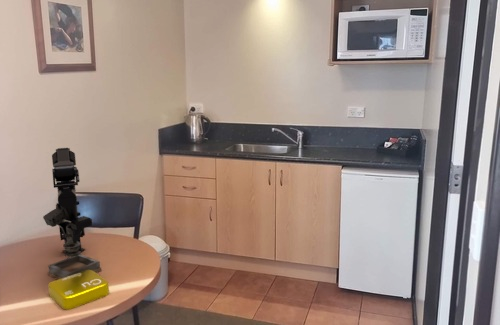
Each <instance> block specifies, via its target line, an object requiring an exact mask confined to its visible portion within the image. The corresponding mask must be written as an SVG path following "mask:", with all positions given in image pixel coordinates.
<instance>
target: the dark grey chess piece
mask: <svg viewBox="0 0 500 325" xmlns="http://www.w3.org/2000/svg"><path fill="white" fill-rule="evenodd" d="M69 226H71V222H69V224H68V225H67V226H66V227H69ZM66 231H67V234H66V236H67V243H65V242H64V244H62V245H63V247H64V250H66V251H67V253H64V256H66V257H67V258H69V257H73V256H77V255H79V254H81V253H82V252H81V251H79V250H78V249H79V248H80V244H81V245H82V242H79V241H77V243H73V240H72V235H71V231H70V230H69V229H68V228H66Z"/></svg>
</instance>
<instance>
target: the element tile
mask: <svg viewBox="0 0 500 325" xmlns="http://www.w3.org/2000/svg"><path fill="white" fill-rule="evenodd" d="M109 287H110V286H109V281H108V280H107V279H105V278H103V277H102V276H101V275H99V274H98V273H95V272H94V271H92V270H86V271H83V272H80V273H77V274H74V275H71V276H68V277H64V278H61V279H58V280H57V279H56V280H52V281H50V282H49V283H48V292H49V293H48V294H49V297H50V298H52V300H53V301H54V302H55V303H56V304H57V305H58V306H60V307H61V308H62V310H66V311H67V310H69V311H70V310H73V309H75V308H77V307H80V306H83V305H85V304H86V305H87V304H89V303H91V302H94V301H97V300H99V299H101V298H104V297H107V296H108V295H109V294H110V289H109Z"/></svg>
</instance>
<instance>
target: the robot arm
mask: <svg viewBox="0 0 500 325" xmlns="http://www.w3.org/2000/svg"><path fill="white" fill-rule="evenodd" d="M51 160H52V166H53V168H52V170H51V171H52V183H53V188H55V189H57V202H56V204H55V208H54V209H52V210H50V211H49V212H48V213H46V214H45V215H43V217H42V218H43V220H44V222H45V224H46V225H47V226H50V227H51V228H53V227H56V226H58V227H59V228H58V229H59V237H60V241H63V240H64V244H65V243H67V236H66V234H67V231H66V228H68V229H69V230H70V231H71V235H72V240H73V243H77V241H79V242H81V238H84V236H86V234H85V232H86V231H85V228H88V227H92V226H93V225H94V224H93V219H92V218H90V217H88V216H85V215H83V216H81V212H79V211H78V210H79V209H78V205H80V201H78V200H77V199H78V198H77V192H76V190H77V189H76V186H79V183H80V173H79V169H78V167H77V166H76V165H77V163H76V162H77V160H76V153H75V152H74V151H72V150H71V148H70V147H59V148H56V149H55V152H54V153H52V154H51ZM69 222H71V226H69V227H66V226H67V225H68V224H69ZM78 250H79V251H81V253H82V252H84V251H85V250H86V249H85V248H82V242H81V244H80V248H79V249H78ZM61 252H62V253H63V254H66V253H67V251H66V250H65V249H62V250H61Z"/></svg>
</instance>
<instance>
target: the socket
mask: <svg viewBox="0 0 500 325" xmlns="http://www.w3.org/2000/svg"><path fill="white" fill-rule="evenodd" d="M86 270H92V271H94V272H95V273H97V274H98V273H101V272H102V267H101V262H100V260H97V259H94V258H91V257H89V256H86V255H85V254H84V255H83V254H81V253H80V254H79V255H77V256H73V257H67V258H65V259H62V260H60V261H57V262H54V263H51V264H49V265H48V271H47V275H48V276H50V277H51V278H53V279H56V280H58V279H61V278H64V277H68V276H71V275H74V274H77V273H80V272H83V271H86Z"/></svg>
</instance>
